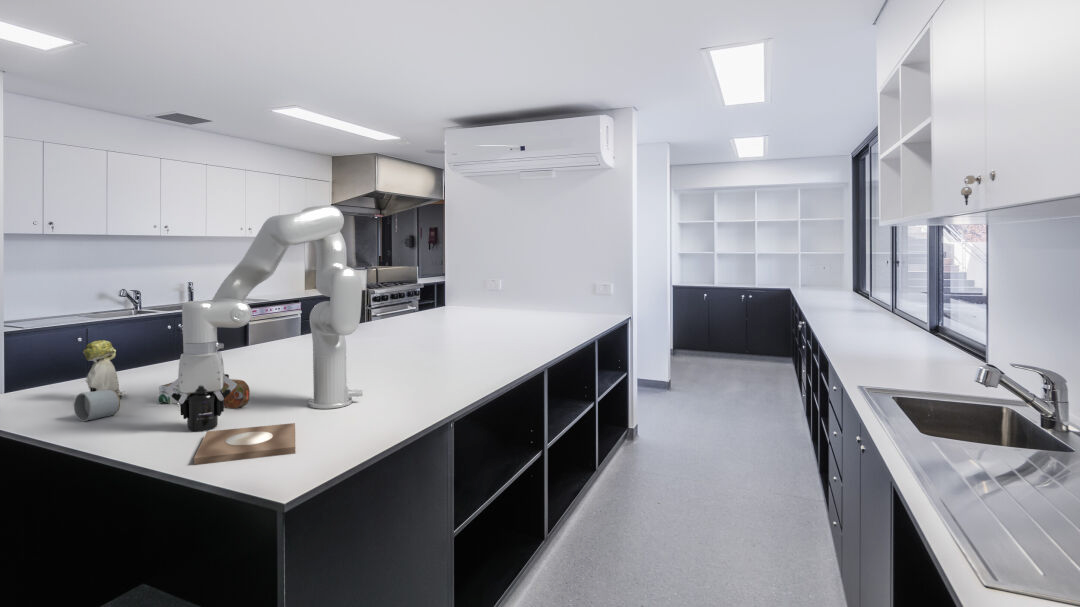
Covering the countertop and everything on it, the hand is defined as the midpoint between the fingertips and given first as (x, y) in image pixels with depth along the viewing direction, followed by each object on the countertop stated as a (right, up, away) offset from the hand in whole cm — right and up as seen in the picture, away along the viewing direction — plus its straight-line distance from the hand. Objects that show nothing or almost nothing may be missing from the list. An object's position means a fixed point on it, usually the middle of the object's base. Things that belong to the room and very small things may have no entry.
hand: (202, 415), depth 145 cm
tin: (-5, -2, +22) cm, 23 cm away
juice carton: (-22, -1, +33) cm, 40 cm away
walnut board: (+19, -5, -12) cm, 23 cm away
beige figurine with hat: (-48, -1, +27) cm, 55 cm away
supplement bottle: (0, -4, 0) cm, 4 cm away
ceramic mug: (-35, -2, +9) cm, 36 cm away
